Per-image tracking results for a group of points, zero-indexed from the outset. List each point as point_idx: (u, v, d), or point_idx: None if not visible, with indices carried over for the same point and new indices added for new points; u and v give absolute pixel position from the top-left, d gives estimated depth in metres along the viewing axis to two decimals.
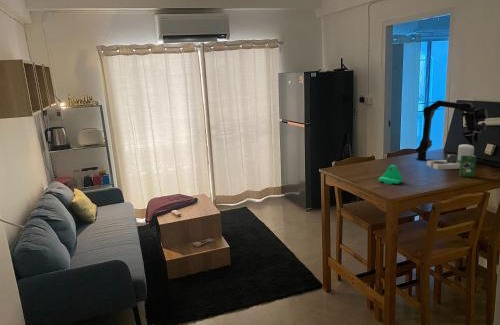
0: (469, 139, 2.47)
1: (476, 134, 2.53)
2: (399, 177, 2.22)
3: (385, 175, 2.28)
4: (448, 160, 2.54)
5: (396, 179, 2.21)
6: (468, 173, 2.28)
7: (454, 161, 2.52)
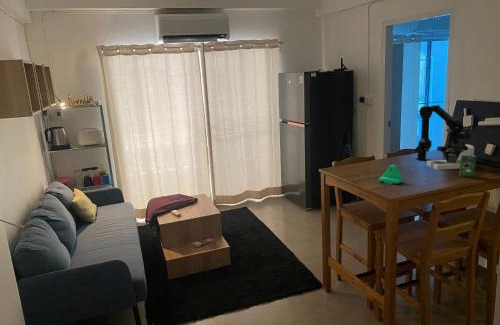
0: (445, 155, 2.54)
1: (457, 152, 2.53)
2: (399, 177, 2.23)
3: (385, 175, 2.28)
4: (448, 160, 2.54)
5: (396, 179, 2.21)
6: (468, 173, 2.28)
7: (454, 161, 2.52)
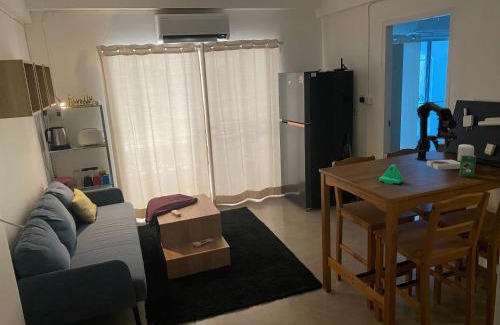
0: (434, 144, 2.52)
1: (447, 141, 2.51)
2: (399, 177, 2.23)
3: (385, 175, 2.28)
4: (438, 149, 2.52)
5: (396, 179, 2.21)
6: (468, 173, 2.28)
7: (444, 150, 2.50)
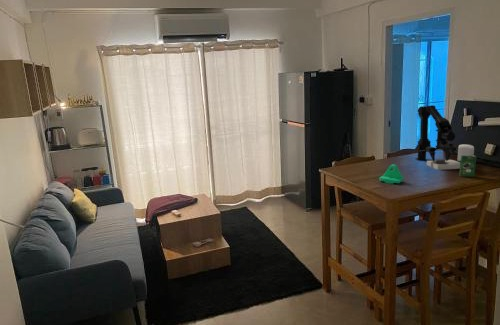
0: (431, 156, 2.54)
1: (448, 152, 2.53)
2: (400, 176, 2.23)
3: (386, 175, 2.29)
4: None
5: (397, 179, 2.22)
6: (468, 173, 2.28)
7: None
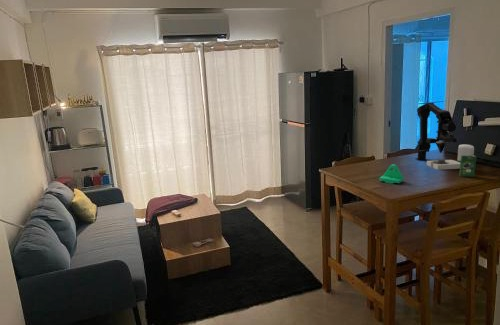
0: (438, 147, 2.53)
1: (442, 144, 2.51)
2: (400, 176, 2.23)
3: (386, 175, 2.29)
4: None
5: (397, 178, 2.22)
6: (468, 173, 2.28)
7: None
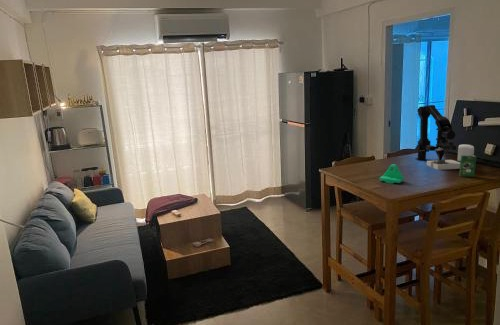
0: (438, 154, 2.54)
1: (442, 151, 2.52)
2: (400, 176, 2.24)
3: (386, 174, 2.29)
4: None
5: (397, 178, 2.22)
6: (468, 173, 2.28)
7: None
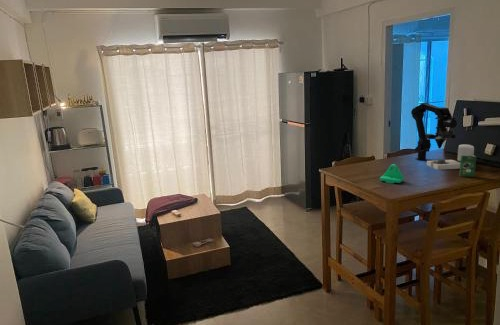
0: (437, 142, 2.60)
1: (441, 140, 2.58)
2: (400, 176, 2.24)
3: (386, 174, 2.29)
4: None
5: (397, 178, 2.22)
6: (468, 173, 2.28)
7: None
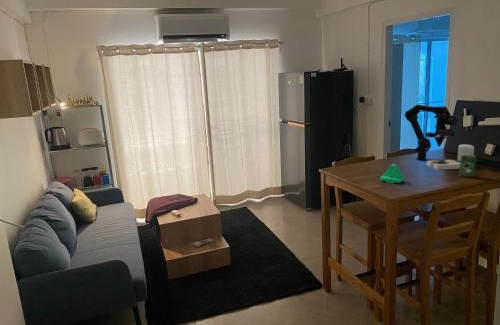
0: (437, 140, 2.64)
1: None
2: (400, 176, 2.24)
3: (386, 174, 2.29)
4: None
5: (397, 178, 2.23)
6: (468, 173, 2.28)
7: None
